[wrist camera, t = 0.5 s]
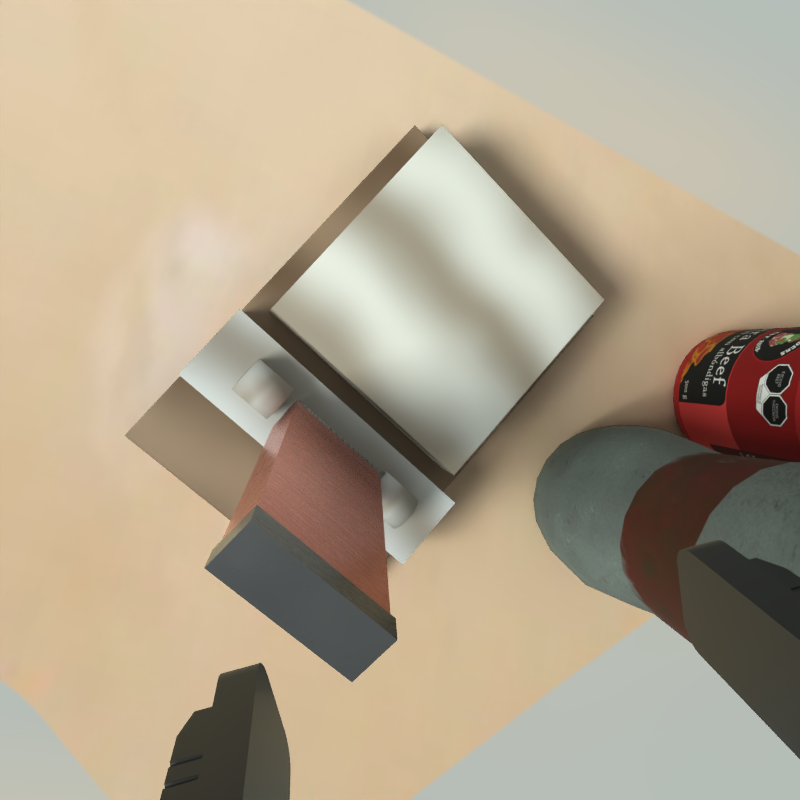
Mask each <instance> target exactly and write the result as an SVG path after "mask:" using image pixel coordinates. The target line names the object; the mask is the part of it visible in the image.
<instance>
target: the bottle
mask: <svg viewBox="0 0 800 800" xmlns="http://www.w3.org/2000/svg"><path fill="white" fill-rule="evenodd" d="M534 508H535V516H536V521H537V523H538V526H539V528H540V530H541V532H542V534H543V536H544V538H545V540H546V542H547V544H548V546H549V548H550V550H551V551H552V552H553V553H554V554H555V555H556V556H557V557H558V558H559V559H560V560H561V561H562V562H563V563H564V564H565V565H566V566H567V567H568V568H569V569H570V570H571V571H572V572H573V573H574V574H575V575H576V576H577V577H578V578H579V579H580V580H581V581H582V582H583V583H584V584H585V585H587V586H590V587H592V588H594V589H596V590H599V591H601V592H603V593H605V594H607V595H610V596H612V597H614V598H617V599H619V600H621V601H623V602H626V603H628V604H630V605H633V606H635V607H637V608H640V609H643V610H645V611H648V612H651V613H653V614H655V615H656V616H657V617H659V618H660V619H661V620H662V621H664V622H665V623H666V624H668V625H669V626H670V627H671V628H673V629H674V630H675V631H676V632H678V633H679V634H680V635H682V636H683V637H684V638H685V639H687V640H688V641H689V642H691V640H690V638H689V636H688V633H687V631H686V628H685V624H684V619H683V610H682V601H681V592H680V583H679V574H678V565H677V555H678V552H679V551H680V550H681V549H685V548H688V547H692V546H696V545H699V544H703V543H707V542H710V541H714V540H722V541H724V542H725V543H727V544H728V545H729V546H731V547H732V548H734V549H735V550H736V551H738V552H739V553H741V554H742V555H743V556H745V557H746V558H748V559H753V558H759V559H762V560H764V561H767V562H770V563H773V564H776V565H779V566H782V567H784V568H787V569H788V570H790V571H791V572H792V573H794V574H795V575H797V576H798V577H800V462H787V461H778V460H769V459H760V458H752V457H743V456H734V455H725V454H721V453H719V452H716V451H714V450H712V449H709V448H707V447H705V446H702V445H700V444H698V443H696V442H693V441H691V440H688V439H686V438H683V437H680V436H678V435H675V434H672V433H670V432H667V431H664V430H662V429H656V428H648V427H641V426H609V427H605V428H600V429H595V430H591V431H587V432H584V433H580V434H578V435H576V436H574V437H572V438H571V439H569V440H567V441H566V442H564V443H562V444H561V445H560V446H559V447H558V448H557V449H556V450H555V451H554V452H553V453H552V454H551V456H550V457H549V458H548V459H547V460H546V462H545V464H544V466H543V468H542V470H541V472H540V474H539V476H538V478H537V483H536V488H535V494H534ZM691 643H692V642H691Z"/></svg>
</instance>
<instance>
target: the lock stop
mask: <svg viewBox="0 0 800 800" xmlns="http://www.w3.org/2000/svg"><path fill="white" fill-rule="evenodd" d="M205 569H206V570H208V571H209V572H210V573H212V574H213V575H214V576H215V577H217V578H218V579H219V580H221V581H222V582H223V583H224V584H226V585H227V586H228V587H230V588H231V589H232V590H234V591H235V592H236V593H237V594H239V595H240V596H241V597H243V598H244V599H245V600H246V601H248V602H249V603H250V604H252V605H253V606H254V607H255V608H257V609H258V610H259V611H261V612H262V613H263V614H265V615H266V616H267V617H268V618H270V619H271V620H272V621H274V622H275V623H276V624H277V625H279V626H280V627H281V628H283V629H284V630H285V631H286V632H288V633H289V634H290V635H292V636H293V637H294V638H296V639H297V640H298V641H299V642H301V643H302V644H303V645H305V646H306V647H307V648H308V649H310V650H311V651H312V652H314V653H315V654H316V655H318V656H319V657H320V658H321V659H323V660H324V661H325V662H327V663H328V664H329V665H330V666H332V667H333V668H334V669H336V670H337V671H338V672H339V673H341V674H342V675H343V676H345V677H346V678H347V679H349V680H350V681H351V682H353V681H354V680H355V679H356V678H357V677H358V676H359V675H360V674H361V673H362V672H363V671H365V670H366V669H367V668H368V667H369V666H370V665H371V664H372V663H373V662H374V661H375V660H376V659H377V658H378V657H380V656H381V655H382V654H383V653H384V652H385V651H386V650H387V649H388V648H389V647H390V646H391V645H392V644H394V643H395V642H396V641H397V630H396V618H395V617H393V616H392V615H391V614H390V603H389V589H388V575H387V562H386V548H385V534H384V520H383V506H382V492H381V479H380V473H379V472H378V471H377V468H376V467H375V466H373V465H372V464H371V463H370V462H369V461H368V460H367V459H366V458H364V457H363V456H362V455H361V454H360V453H359V452H358V451H356V450H355V449H354V448H353V447H352V446H351V445H350V444H349V443H347V442H346V441H345V440H344V439H343V438H342V437H341V436H339V435H338V434H337V433H336V432H335V431H334V430H333V429H332V428H330V427H329V426H328V425H327V424H326V423H325V422H324V421H323V420H321V419H320V418H319V417H318V416H317V415H316V414H315V413H313V412H312V411H311V410H310V409H309V408H308V407H307V406H306V405H304V404H303V403H302V402H301V401H300V400H297V401H296V402H295V403H294V404H292V405H291V406H290V408H289V409H288V410H287V411H286V412H285V413H284V414H283V415H282V417H281V418H280V419H279V420H278V421H277V422H276V424H275V425H274V426H273V427H272V429H271V432H270V434H269V436H268V438H267V441H266V443H265V445H264V447H263V450H262V452H261V454H260V456H259V459H258V461H257V463H256V465H255V468H254V470H253V472H252V474H251V477H250V479H249V481H248V483H247V486H246V488H245V490H244V492H243V495H242V497H241V499H240V501H239V504H238V506H237V508H236V510H235V513H234V515H233V517H232V519H231V522H230V524H229V526H228V528H227V531H226V533H225V535H224V537H223V540H222V541H221V542H220V543H219V544H218V545H217V546H216V547H215V548H214V549H213V550H212V553H211V555H210V557H209V559H208V561H207V563H206V566H205Z"/></svg>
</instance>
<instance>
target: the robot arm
mask: <svg viewBox="0 0 800 800" xmlns="http://www.w3.org/2000/svg"><path fill="white" fill-rule="evenodd" d="M677 565H678V574H679V583H680V592H681V601H682V610H683V619H684V624H685V628H686V631H687V633H688V636H689V638H690V640H691V642H692V644H693V646H694V647H695V649H696V650H697V652H698V653H699V654H700V655H701V656H702V657H703V658H704V659H705V660H706V661H707V663H708V664H709V665H710V666H711V667H712V668H713V669H714V670H715V671H716V672H717V673H718V674H719V675H720V676H721V677H722V678H723V679H724V680H725V681H726V682H727V683H728V685H729V686H730V687H731V688H732V689H733V690H734V691H735V692H736V693H737V694H738V695H739V696H740V697H741V698H742V699H743V700H744V701H745V702H746V703H747V704H748V705H749V706H750V708H751V709H752V710H753V711H754V712H755V713H756V714H757V715H758V716H759V717H760V718H761V719H762V720H763V721H764V722H765V723H766V724H767V725H768V726H769V727H770V728H771V729H772V730H773V731H774V732H775V734H777V736H778V737H779V738H780V739H781V740H782V741H783V742H784V743H785V744H786V745H787V746H788V747H789V748H790V749H791V750H792V751H793V752H794V753H795V755H796V756H797V757H798V758H799V759H800V577H798V576H797V575H795V574H794V573H792V572H791V571H790V570H788V569H787V568H784V567H782V566H779V565H776V564H773V563H770V562H767V561H764V560H762V559H759V558H753V559H748V558H746V557H745V556H743V555H742V554H741V553H739V552H738V551H736V550H735V549H734V548H732V547H731V546H729V545H728V544H727V543H725V542H724V541H722V540H714V541H710V542H707V543H703V544H699V545H696V546H692V547H688V548H685V549H681V550H680V551H679V552H678V555H677ZM170 765H171V766H170V767H169V768H168V772H167V776H166V779H165V783H164V784H165V789H163V791H162V795H161V798H160V800H289V799H290V756H289V749H288V743H287V738H286V734H285V730H284V727H283V724H282V721H281V717H280V714H279V711H278V708H277V705H276V701H275V698H274V695H273V692H272V689H271V685H270V682H269V679H268V676H267V673H266V670H265V668H264V666H263V664H261V663H259V664H255V665H252V666H248V667H244V668H241V669H237V670H233V671H230V672H226V673H222V674H220V676H219V678H218V682H217V687H216V692H215V697H214V702H213V707H210V708H206V709H202V710H199V711H195V712H194V713H193V714H192V716H191V717H190V719H189V720H188V722H187V723H186V724H185V726H184V727H183V729H182V730H181V732H180V733H179V734H178V736H177V738H176V742H175V745H174V749H173V753H172V757H171V761H170Z"/></svg>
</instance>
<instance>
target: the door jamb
mask: <svg viewBox="0 0 800 800" xmlns="http://www.w3.org/2000/svg"><path fill="white" fill-rule="evenodd" d="M603 301H604V299H603V298H602V297H601V295H600V294H599V293H598V292H597V291H596V290H595V289H594V288H593V287H592V286H591V285H590V284H589V283H588V281H587V280H586V279H585V278H584V277H583V276H582V275H581V274H580V273H579V272H578V271H577V270H576V269H575V267H574V266H573V265H572V264H571V263H570V262H569V261H568V260H567V259H566V258H565V257H564V256H563V254H562V253H561V252H560V251H559V250H558V249H557V248H556V247H555V246H554V245H553V244H552V243H551V242H550V240H549V239H548V238H547V237H546V236H545V235H544V234H543V233H542V232H541V231H540V230H539V229H538V227H537V226H536V225H535V224H534V223H533V222H532V221H531V220H530V219H529V218H528V217H527V216H526V215H525V213H524V212H523V211H522V210H521V209H520V208H519V207H518V206H517V205H516V204H515V203H514V202H513V201H512V199H511V198H510V197H509V196H508V195H507V194H506V193H505V192H504V191H503V190H502V189H501V188H500V186H499V185H498V184H497V183H496V182H495V181H494V180H493V179H492V178H491V177H490V176H489V175H488V174H487V172H486V171H485V170H484V169H483V168H482V167H481V166H480V165H479V164H478V163H477V162H476V161H475V159H474V158H473V157H472V156H471V155H470V154H469V153H468V152H467V151H466V150H465V149H464V148H463V147H462V145H461V144H460V143H459V142H458V141H457V140H456V139H455V138H454V137H453V136H452V135H451V134H450V133H449V131H448V130H447V129H446V128H445V127H444V126H443V125H441V126H440V128H439V129H438V130H437V131H436V132H435V133H434V134H433V135H432V136H431V137H430V138H429V139H427V138H426V137H425V135H424V134H423V133H422V132H421V131H420V130H419V129H418V128H417V127H416V126H414V127H413V128H412V129H411V130H410V131H409V132H408V133H407V134H406V135H405V136H404V138H403V139H402V140H401V141H400V142H399V143H398V144H397V145H396V146H395V147H394V148H393V149H392V150H391V151H390V152H389V154H388V155H387V156H386V157H385V158H384V159H383V160H382V161H381V162H380V163H379V164H378V165H377V166H376V167H375V169H374V170H373V171H372V172H371V173H370V174H369V175H368V176H367V177H366V178H365V179H364V180H363V181H362V182H361V183H360V185H359V186H358V187H357V188H356V189H355V190H354V191H353V192H352V193H351V194H350V195H349V196H348V197H347V198H346V200H345V201H344V202H343V203H342V204H341V205H340V206H339V207H338V208H337V209H336V210H335V211H334V212H333V213H332V214H331V216H330V217H329V218H328V219H327V220H326V221H325V222H324V223H323V224H322V225H321V226H320V227H319V228H318V229H317V230H316V232H315V233H314V234H313V235H312V236H311V237H310V238H309V239H308V240H307V241H306V242H305V243H304V244H303V245H302V247H301V248H300V249H299V250H298V251H297V252H296V253H295V254H294V255H293V256H292V257H291V258H290V259H289V260H288V261H287V263H286V264H285V265H284V266H283V267H282V268H281V269H280V270H279V271H278V272H277V273H276V274H275V275H274V276H273V278H272V279H271V280H270V281H269V282H268V283H267V284H266V285H265V286H264V287H263V288H262V289H261V290H260V291H259V292H258V294H257V295H256V296H255V297H254V298H253V299H252V300H251V301H250V302H249V303H248V304H247V305H246V306H245V307H244V309H243V310H242V311H241V310H240V309H239V310H238V312H237V313H236V314H235V315H234V316H233V317H232V318H231V319H230V320H229V321H228V322H227V323H226V324H225V325H224V326H223V328H222V329H221V330H220V331H219V332H218V333H217V334H216V335H215V336H214V337H213V338H212V339H211V340H210V341H209V342H208V344H207V345H206V346H205V347H204V348H203V349H202V350H201V351H200V352H199V353H198V354H197V355H196V356H195V357H194V359H193V360H192V361H191V362H190V363H189V364H188V365H187V366H186V367H185V368H184V369H183V370H182V371H181V372H180V373H179V375H180V377H179V378H178V379H177V380H176V381H175V382H174V383H173V384H172V385H171V387H170V388H169V389H168V390H167V391H166V392H165V393H164V394H163V395H162V396H161V397H160V398H159V399H158V400H157V402H156V403H155V404H154V405H153V406H152V407H151V408H150V409H149V410H148V411H147V412H146V413H145V414H144V415H143V416H142V418H141V419H140V420H139V421H138V422H137V423H136V424H135V425H134V426H133V427H132V428H131V429H130V430H129V431H128V433H127V434H126V435H125V436H126V437H127V438H128V439H130V440H131V441H132V442H133V443H135V444H136V445H137V446H138V447H140V448H141V449H142V450H143V451H145V452H146V453H147V454H148V455H150V456H151V457H152V458H153V459H155V460H156V461H157V462H158V463H160V464H161V465H162V466H163V467H164V468H166V469H167V470H168V471H169V472H171V473H172V474H173V475H174V476H176V477H177V478H178V479H179V480H181V481H182V482H183V483H184V484H186V485H187V486H188V487H189V488H191V489H192V490H193V491H194V492H196V493H197V494H198V495H199V496H201V497H202V498H203V499H204V500H206V501H207V502H208V503H209V504H211V505H212V506H213V507H214V508H216V509H217V510H218V511H219V512H220V513H222V514H223V515H224V516H225V517H227V518H228V519H229V520H230V521H231V519H232V517H233V515H234V513H235V510H236V508H237V506H238V504H239V501H240V499H241V497H242V495H243V492H244V490H245V488H246V486H247V483H248V481H249V479H250V477H251V474H252V472H253V470H254V468H255V465H256V463H257V461H258V459H259V456H260V454H261V452H262V450H263V447H264V445H265V443H266V441H267V438H268V436H269V434H270V432H271V429H272V427H273V426H274V425H275V424H276V422H277V421H278V420H279V419H280V418H281V417H282V415H283V414H284V413H285V412H286V411H287V410H288V409H289V408H290V406H291V405H292V404H294V403H295V402H296V401H297V400H300V401H301V402H302V403H303V404H304V405H306V406H307V407H308V408H309V409H310V410H311V411H312V412H313V413H315V414H316V415H317V416H318V417H319V418H320V419H321V420H323V421H324V422H325V423H326V424H327V425H328V426H329V427H330V428H332V429H333V430H334V431H335V432H336V433H337V434H338V435H339V436H341V437H342V438H343V439H344V440H345V441H346V442H347V443H349V444H350V445H351V446H352V447H353V448H354V449H355V450H356V451H358V452H359V453H360V454H361V455H362V456H363V457H364V458H366V459H367V460H368V461H369V462H370V463H371V464H372V465H373V466H375V467H376V468H377V471H378V472H379V473H380V479H381V492H382V506H383V520H384V534H385V548H386V558H387V557H388V555H389V554H391V555H392V556H393V557H394V558H395V559H396V560H398V561H399V562H400V563H401V564H402V565H403V564H404V563H405V561H406V560H407V559H408V558H409V557H410V556H411V554H412V553H413V552H414V551H415V550H416V549H417V547H418V546H419V545H420V544H421V543H422V541H423V540H424V539H425V538H426V537H427V536H428V534H429V533H430V532H431V531H432V530H433V529H434V527H435V526H436V525H437V524H438V523H439V521H440V520H441V519H442V518H443V517H444V516H445V514H446V513H447V512H448V511H449V510H450V509H451V507H452V506H453V505H454V504H455V502H454V501H452V500H451V499H450V498H449V497H448V496H447V495H446V494H445V493H444V492H443V491H444V490H445V489H446V488H447V486H448V485H449V484H450V483H451V482H452V481H453V479H454V478H455V477H456V476H457V475H458V474H459V472H460V471H461V470H462V469H463V468H464V467H465V465H466V464H467V463H468V462H469V461H470V460H471V458H472V457H473V456H474V455H475V454H476V453H477V451H478V450H479V449H480V448H481V447H482V446H483V444H484V443H485V442H486V441H487V440H488V439H489V437H490V436H491V435H492V434H493V433H494V432H495V430H496V429H497V428H498V427H499V426H500V425H501V423H502V422H503V421H504V420H505V419H506V418H507V416H508V415H509V414H510V413H511V412H512V411H513V409H514V408H515V407H516V406H517V405H518V404H519V402H520V401H521V400H522V399H523V398H524V396H525V395H526V394H527V393H528V392H529V391H530V389H531V388H532V387H533V386H534V385H535V384H536V382H537V381H538V380H539V379H540V378H541V377H542V375H543V374H544V373H545V372H546V371H547V370H548V368H549V367H550V366H551V365H552V364H553V363H554V361H555V360H556V359H557V358H558V357H559V356H560V354H561V353H562V352H563V351H564V350H565V349H566V347H567V346H568V345H569V344H570V343H571V342H572V340H573V339H574V338H575V337H576V336H577V335H578V333H579V332H580V331H581V330H582V329H583V328H584V326H585V325H586V324H587V323H588V322H589V321H590V319H591V318H592V317H593V316H594V315H593V313H594V311H595V310H596V309H597V308H598V307H599V306H600V304H601V303H602V302H603Z"/></svg>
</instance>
